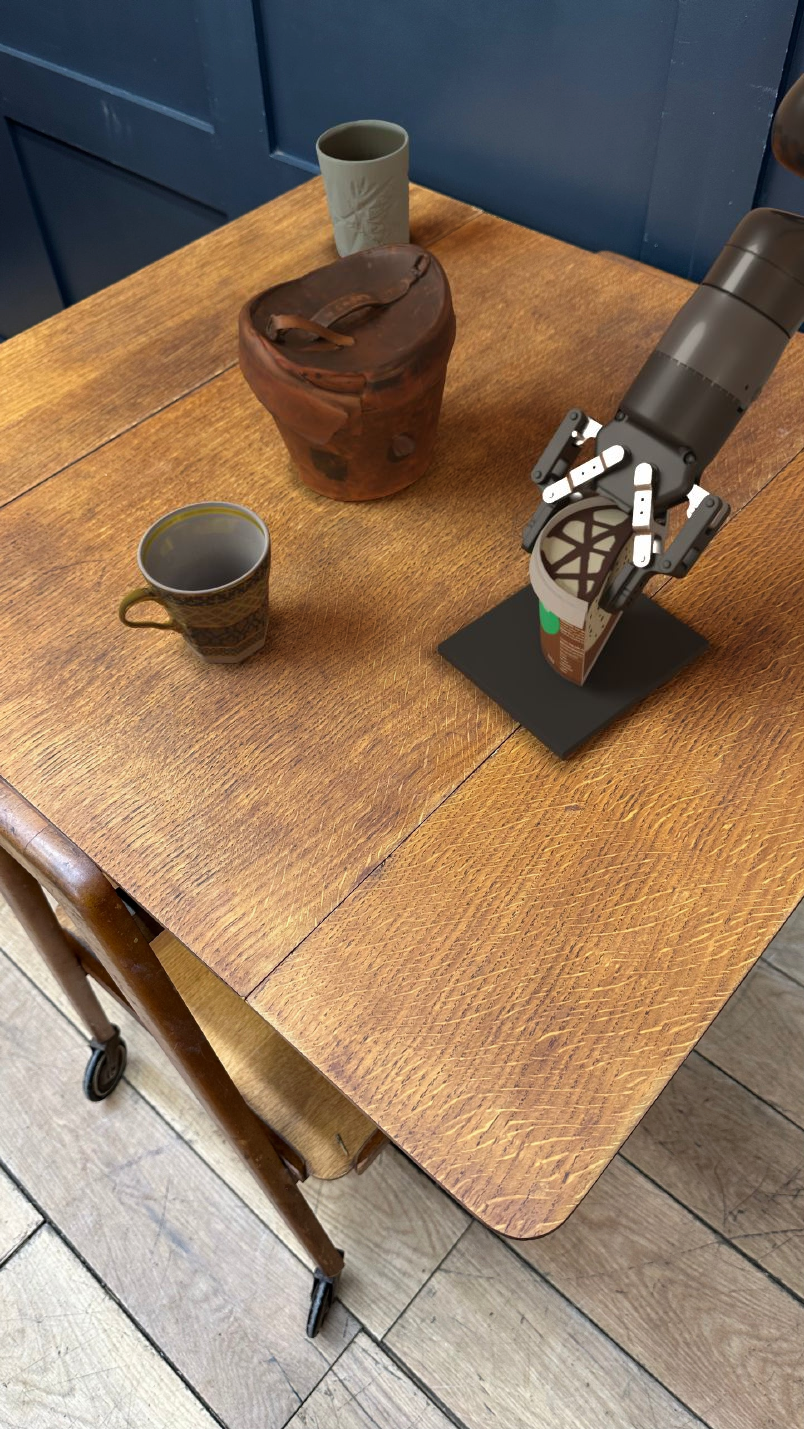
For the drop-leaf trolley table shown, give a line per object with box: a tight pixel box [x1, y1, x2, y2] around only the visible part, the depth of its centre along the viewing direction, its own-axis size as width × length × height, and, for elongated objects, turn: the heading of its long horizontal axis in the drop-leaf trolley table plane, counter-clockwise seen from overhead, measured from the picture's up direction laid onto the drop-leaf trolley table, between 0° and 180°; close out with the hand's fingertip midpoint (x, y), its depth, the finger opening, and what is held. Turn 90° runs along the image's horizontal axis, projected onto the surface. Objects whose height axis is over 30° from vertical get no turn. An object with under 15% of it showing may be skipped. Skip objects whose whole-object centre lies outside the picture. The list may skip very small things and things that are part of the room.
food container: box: [528, 495, 635, 686], centre depth 76 cm, size 12×6×10 cm, turn 151°
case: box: [237, 242, 457, 502], centre depth 90 cm, size 18×20×18 cm
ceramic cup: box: [118, 500, 272, 664], centre depth 80 cm, size 13×10×10 cm
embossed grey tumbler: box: [315, 119, 410, 258], centre depth 116 cm, size 10×10×12 cm
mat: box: [437, 582, 711, 761], centre depth 81 cm, size 16×14×1 cm
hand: (567, 580), depth 74 cm, fingers closed on food container, 7 cm apart
